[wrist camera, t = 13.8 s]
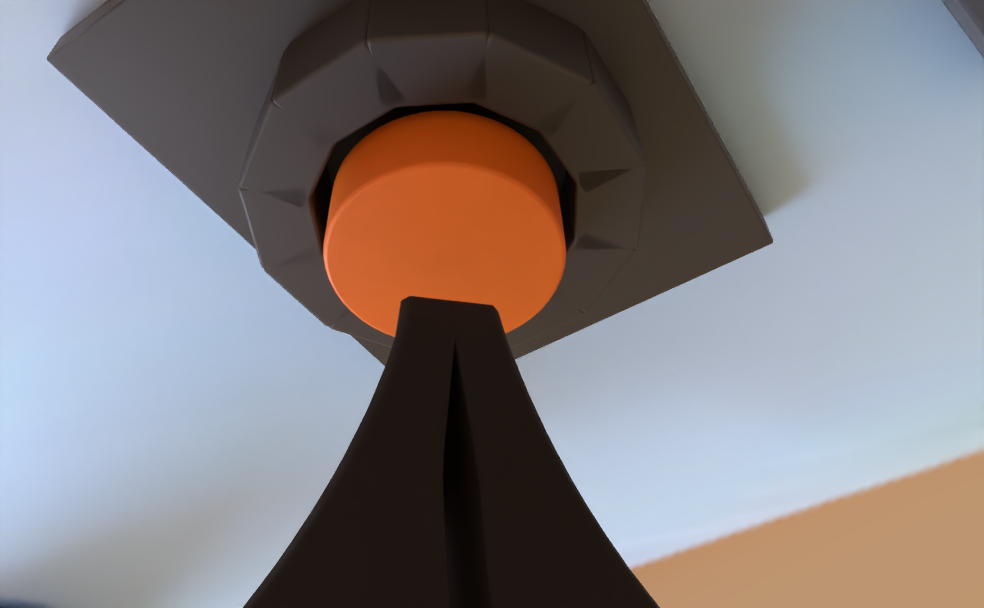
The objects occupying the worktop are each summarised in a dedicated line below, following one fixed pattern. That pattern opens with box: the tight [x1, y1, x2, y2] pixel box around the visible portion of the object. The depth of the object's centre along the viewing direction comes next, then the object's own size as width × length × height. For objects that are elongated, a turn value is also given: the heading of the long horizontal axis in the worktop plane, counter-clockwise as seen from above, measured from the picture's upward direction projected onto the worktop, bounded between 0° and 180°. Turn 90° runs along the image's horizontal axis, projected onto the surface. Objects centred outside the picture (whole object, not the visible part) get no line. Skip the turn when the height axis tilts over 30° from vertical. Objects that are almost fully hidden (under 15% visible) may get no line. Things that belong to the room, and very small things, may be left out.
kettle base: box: [47, 0, 773, 366], centre depth 16 cm, size 11×9×3 cm
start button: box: [323, 111, 566, 337], centre depth 15 cm, size 4×4×2 cm
